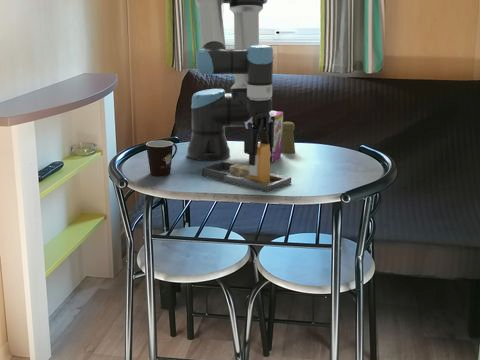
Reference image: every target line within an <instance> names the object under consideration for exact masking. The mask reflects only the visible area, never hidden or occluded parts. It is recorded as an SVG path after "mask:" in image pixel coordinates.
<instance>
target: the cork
mask: <svg viewBox="0 0 480 360" xmlns="http://www.w3.org/2000/svg"><path fill="white" fill-rule="evenodd" d="M295 126H296V125H295V123H294V122H292V121H283V127H282V143H281V154H284V155H286V154H287V155H289V154H290V155H291V154H295V153H296V145H295V135H294V130H295V129H296V127H295Z"/></svg>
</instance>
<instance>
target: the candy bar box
mask: <svg viewBox="0 0 480 360" xmlns="http://www.w3.org/2000/svg"><path fill="white" fill-rule="evenodd" d="M269 114H270V116H275V122H274V146H273V148H272V151H270V165H271V164H273V163H274V162H275V161H277V159H279V158H281V156H282V153H281V143H282V127H283V122H284V112H283V111H280V110H279V111H278V110H272V111H271V112H269ZM259 143H261V140H260V139H259Z"/></svg>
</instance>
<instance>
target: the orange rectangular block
mask: <svg viewBox="0 0 480 360" xmlns="http://www.w3.org/2000/svg"><path fill="white" fill-rule="evenodd" d="M256 155H258V176H254V175H250V179H253V180H257V181H261V182H266V183H270V184H271V182H270V173H271V164H270V145H269V144H263V143H260V142H258V146H257V153H256ZM248 166H249V171H250V165H248Z"/></svg>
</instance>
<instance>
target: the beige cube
mask: <svg viewBox="0 0 480 360" xmlns="http://www.w3.org/2000/svg"><path fill="white" fill-rule="evenodd" d="M234 164H235V165H232V166H230V171H229V174H232V175H236V176H240V168H243V167H246V166H247V165H245V164H241V163H234Z"/></svg>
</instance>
